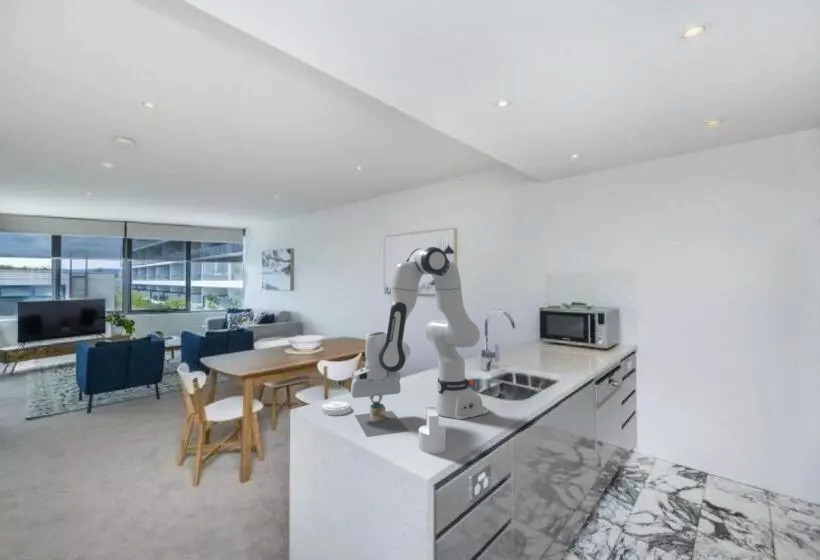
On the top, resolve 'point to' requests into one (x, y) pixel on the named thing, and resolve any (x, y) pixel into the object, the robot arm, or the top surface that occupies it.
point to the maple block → (377, 412)
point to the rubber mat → (381, 424)
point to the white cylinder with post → (432, 433)
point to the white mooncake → (336, 408)
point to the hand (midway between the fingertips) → (375, 406)
